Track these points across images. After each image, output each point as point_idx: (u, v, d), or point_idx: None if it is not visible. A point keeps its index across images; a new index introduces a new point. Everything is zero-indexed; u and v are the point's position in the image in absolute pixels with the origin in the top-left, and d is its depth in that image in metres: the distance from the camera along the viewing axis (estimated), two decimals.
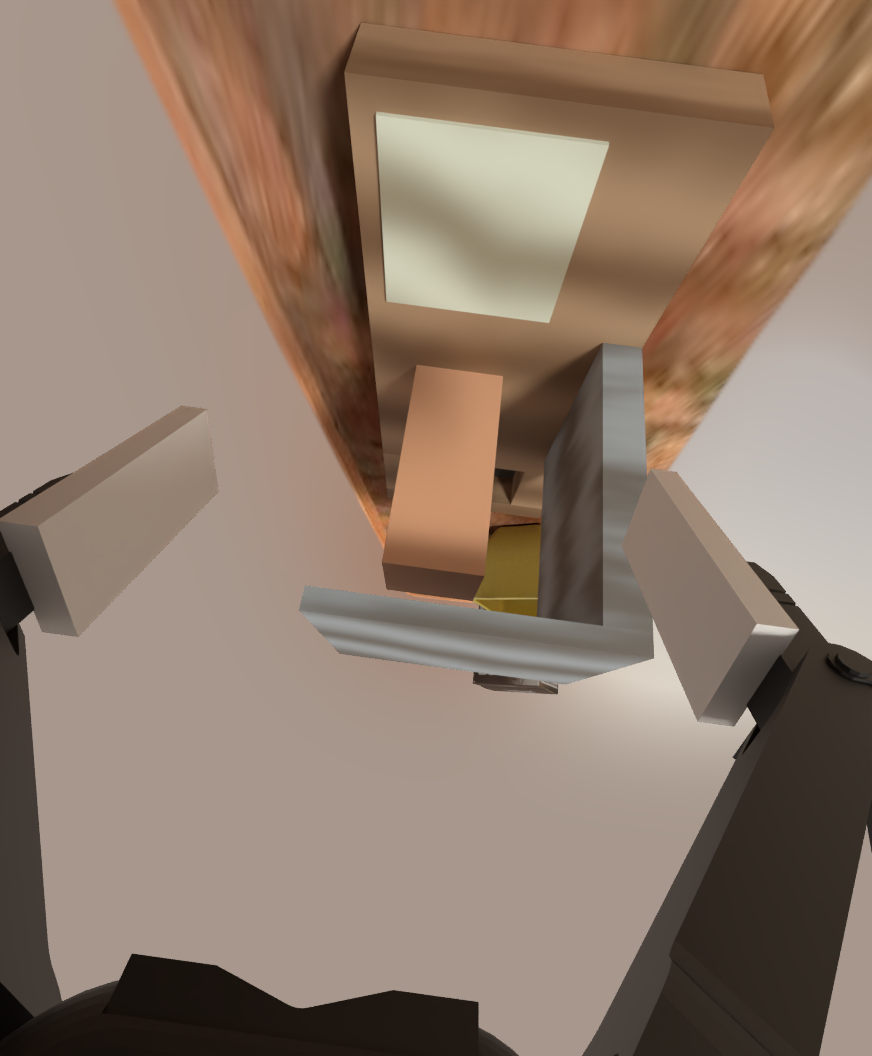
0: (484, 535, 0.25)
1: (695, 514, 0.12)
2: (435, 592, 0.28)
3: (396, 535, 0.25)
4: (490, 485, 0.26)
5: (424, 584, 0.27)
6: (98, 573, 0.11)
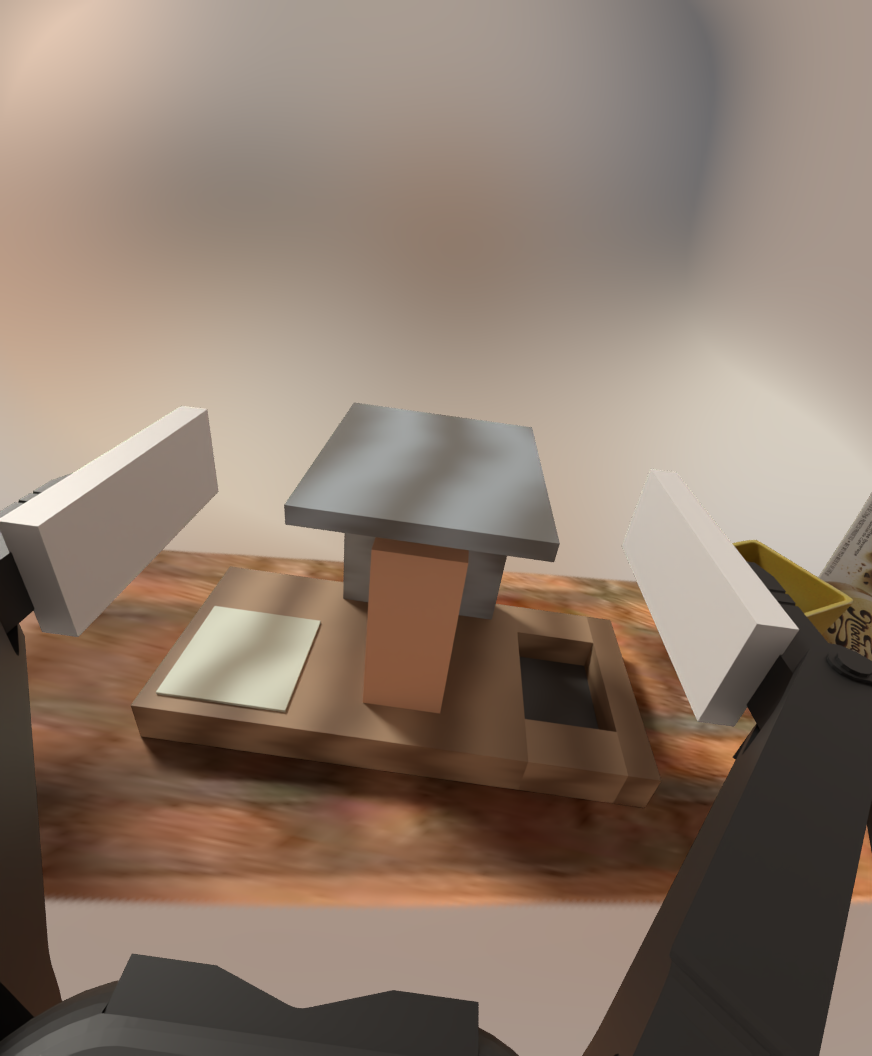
0: None
1: (695, 514, 0.12)
2: None
3: None
4: None
5: None
6: (98, 573, 0.11)
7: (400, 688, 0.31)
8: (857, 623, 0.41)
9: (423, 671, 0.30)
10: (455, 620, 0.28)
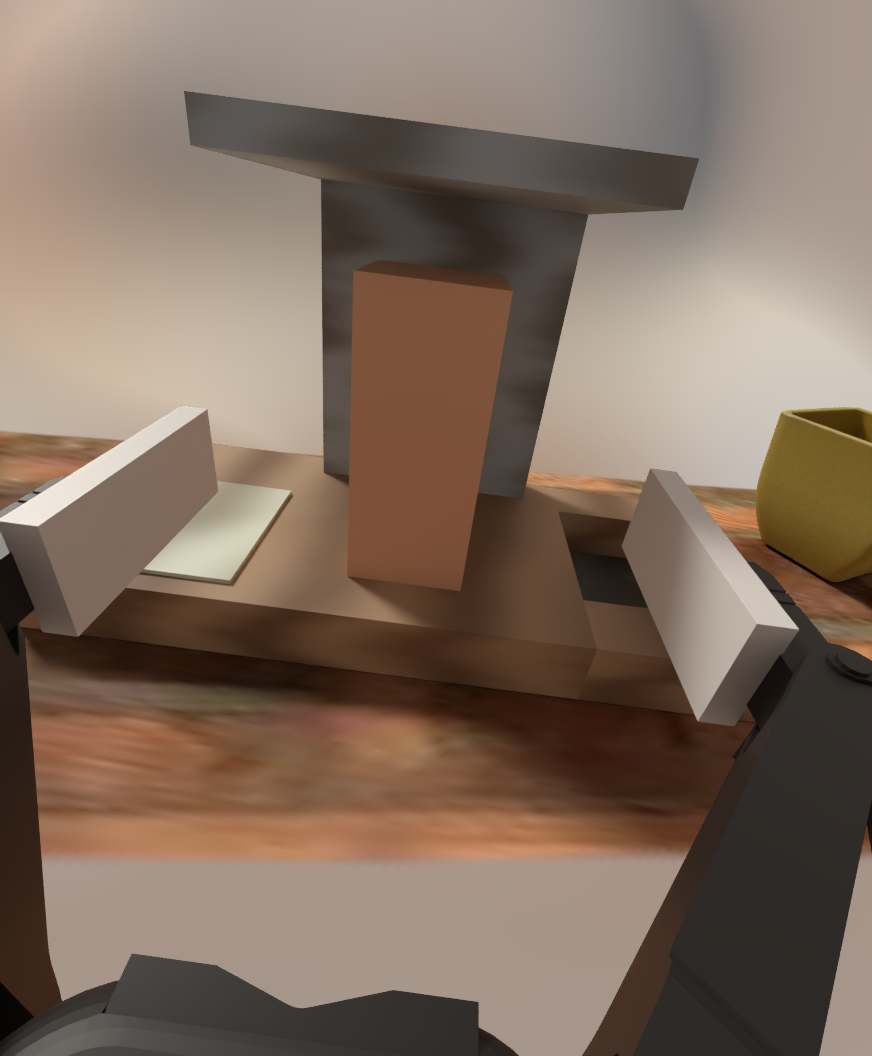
0: None
1: (695, 514, 0.12)
2: (487, 278, 0.18)
3: None
4: None
5: (450, 275, 0.17)
6: (98, 573, 0.11)
7: (401, 548, 0.21)
8: None
9: (436, 516, 0.20)
10: (488, 413, 0.18)
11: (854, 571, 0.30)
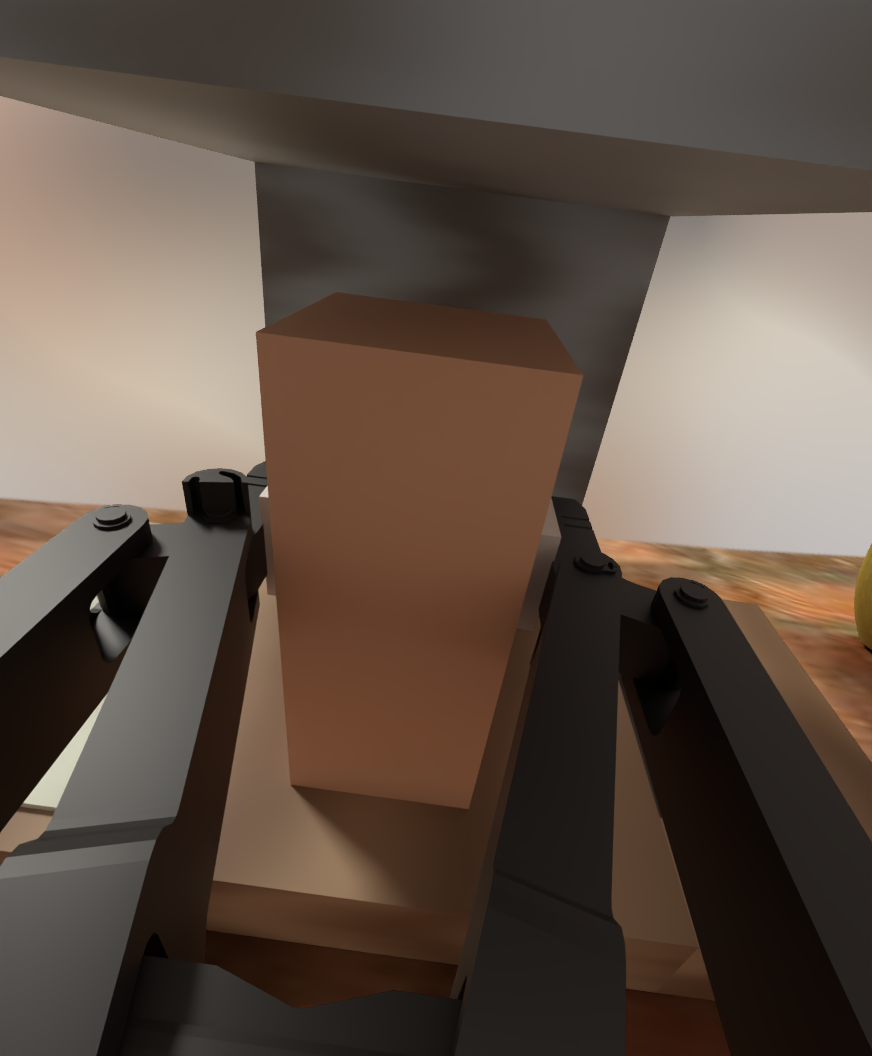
0: None
1: None
2: (520, 333, 0.10)
3: None
4: None
5: (454, 330, 0.09)
6: None
7: (374, 755, 0.13)
8: None
9: (430, 719, 0.12)
10: (523, 581, 0.10)
11: None
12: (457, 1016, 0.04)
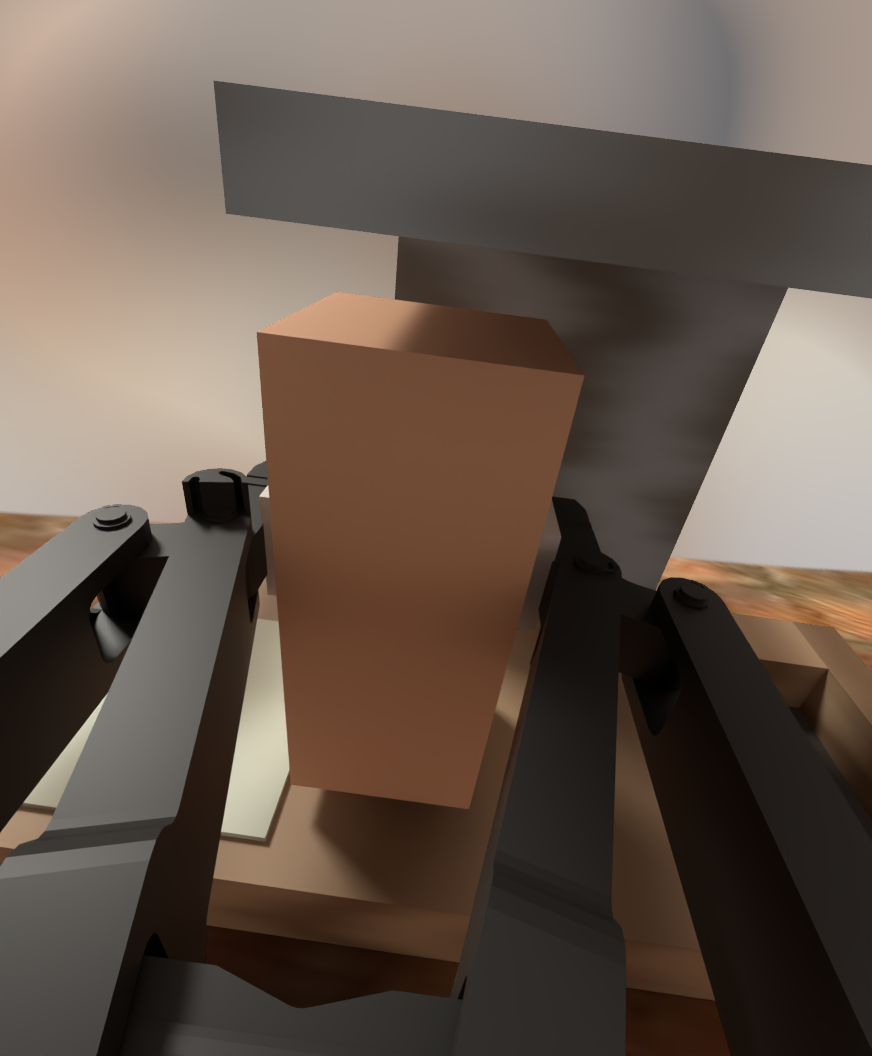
0: None
1: None
2: (521, 333, 0.10)
3: None
4: None
5: (454, 330, 0.09)
6: None
7: (374, 756, 0.13)
8: None
9: (430, 718, 0.12)
10: (523, 581, 0.10)
11: None
12: (457, 1016, 0.04)
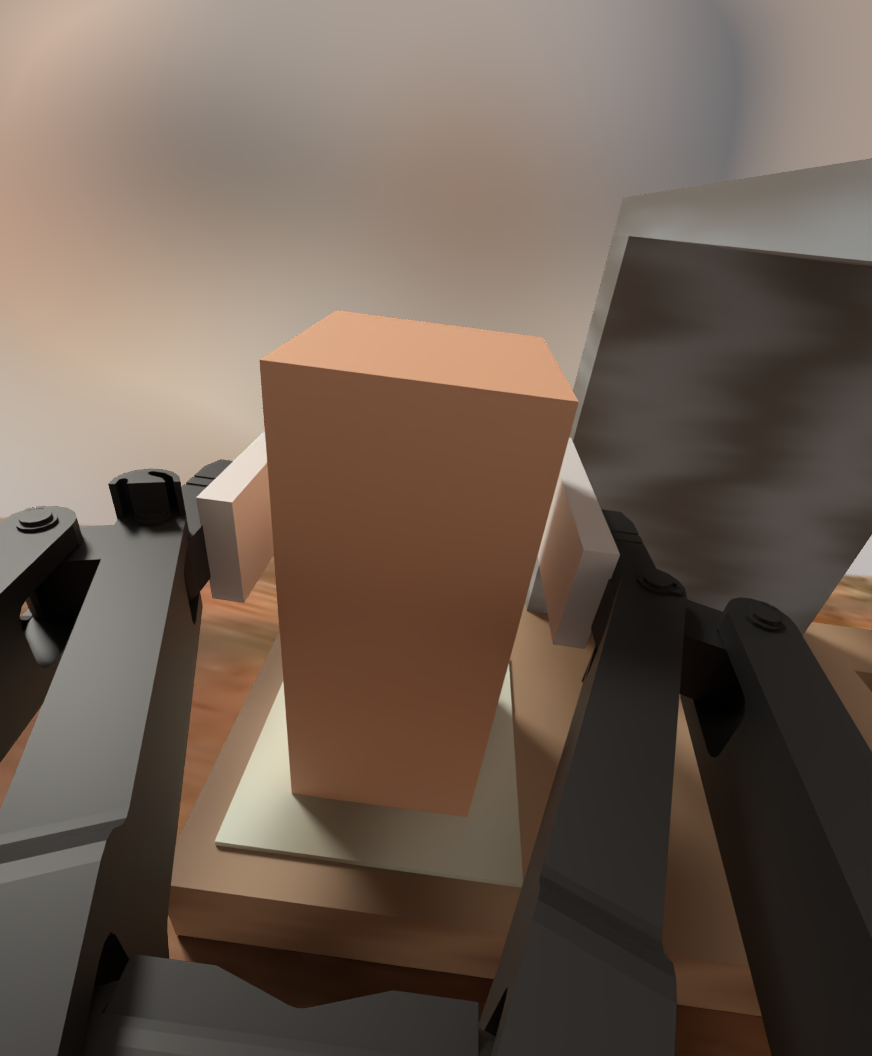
0: None
1: (571, 470, 0.14)
2: (517, 354, 0.10)
3: None
4: None
5: (452, 353, 0.10)
6: (256, 547, 0.12)
7: (374, 765, 0.13)
8: None
9: (429, 730, 0.12)
10: (520, 597, 0.10)
11: None
12: (457, 1016, 0.04)
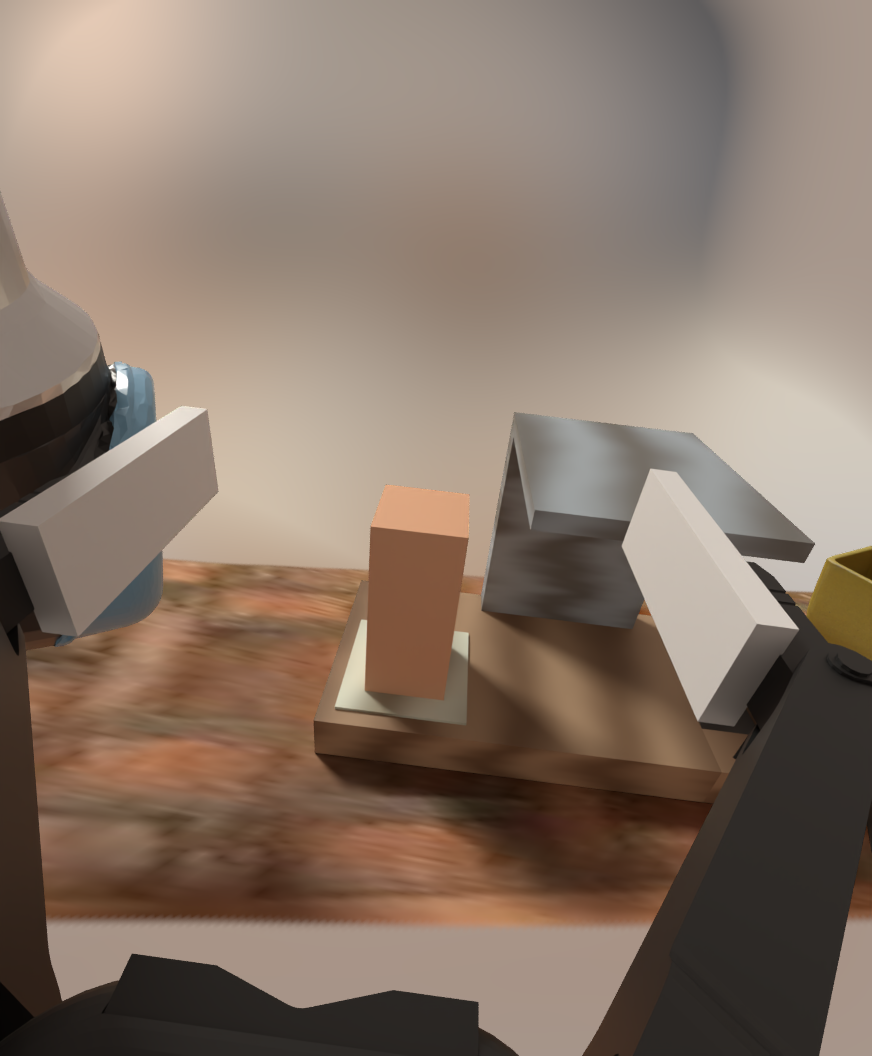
0: None
1: (695, 514, 0.12)
2: (455, 510, 0.28)
3: None
4: None
5: (431, 513, 0.27)
6: (98, 573, 0.11)
7: (402, 674, 0.30)
8: None
9: (425, 655, 0.30)
10: (457, 599, 0.27)
11: None
12: (457, 1015, 0.04)
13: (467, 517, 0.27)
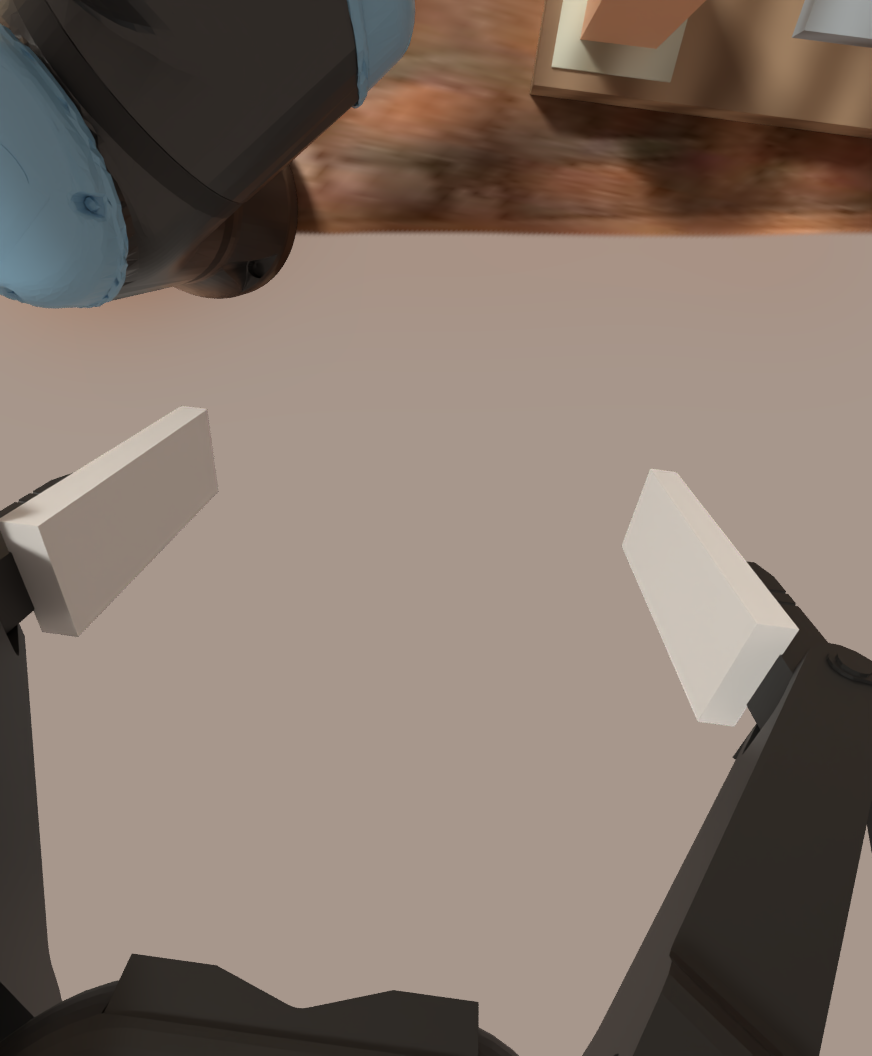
0: None
1: (695, 514, 0.12)
2: None
3: None
4: None
5: None
6: (98, 573, 0.11)
7: (621, 34, 0.31)
8: None
9: (650, 28, 0.30)
10: (700, 3, 0.26)
11: None
12: (457, 1016, 0.04)
13: None
